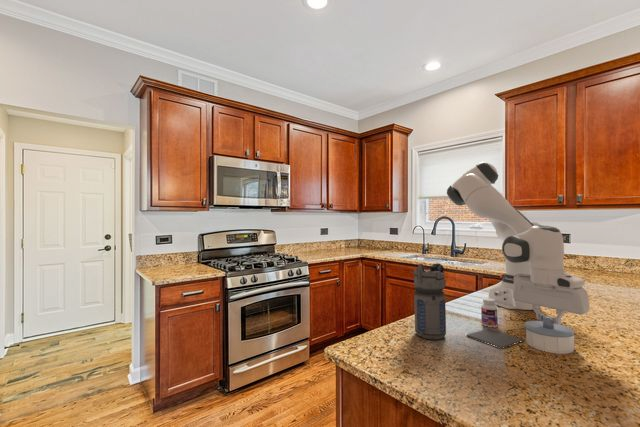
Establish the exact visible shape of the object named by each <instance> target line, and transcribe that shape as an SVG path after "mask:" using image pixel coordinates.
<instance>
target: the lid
mask: <svg viewBox="0 0 640 427" xmlns="http://www.w3.org/2000/svg"><path fill="white" fill-rule="evenodd" d="M523 326H524V328H525V330H526V329H527V330H529V331H531V332H534V333H537V334H541V335H545V336H551V337H571V336H574V337H575V330H574V329H573V328H572V327H569V326H567V325H564V324H562V323H561V324H555V323H553V316H548V315H544V316H543V320H529V321H525V322H524V325H523Z"/></svg>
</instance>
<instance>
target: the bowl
mask: <svg viewBox="0 0 640 427" xmlns="http://www.w3.org/2000/svg"><path fill="white" fill-rule="evenodd" d="M525 339H526V340H525V342H527V343H526V344H527V345H528V344H529V345H530V346H529V345H528V346H529V347H531V348H532V349H535V350H538V351H541V350H542V351H541V352H544V351H545V352H546V353H549V354H555V355H569V354H572V353H574V351H575V335H574V336H571V337H551V336H545V335H541V334H537V333H534V332H531V331H529V330H527V329H526V328H525ZM545 352H544V353H545Z"/></svg>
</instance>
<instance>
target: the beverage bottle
mask: <svg viewBox="0 0 640 427" xmlns="http://www.w3.org/2000/svg"><path fill="white" fill-rule="evenodd" d="M426 267H427V269H424V264H421V263H418V266H417V268H414V271H413V287H415V290H414V292H413V293H414V294H413V295H414V296H413V297H414V298H413V300H414V302H413V303H414V307H413V308H414V332H415V333H416V335H417V336H419V337H421V338H422V339H426V340H432V341H433V340H434V341H435V340H441V339H444V338H445V337H446V334H447V320H446V319H447V318H446V317H447V316H446V315H447V314H446V313H447V312H446V307H447V306H446V293H445V292H444V289H445V288H446V285H447V284H446V283H447V282H446V278H445V274H444V266H443V265H442V264H441V263H437V262H436V263H433V264H432V265H428V266H426Z"/></svg>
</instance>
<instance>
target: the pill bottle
mask: <svg viewBox="0 0 640 427" xmlns="http://www.w3.org/2000/svg"><path fill="white" fill-rule="evenodd" d="M480 306H481V307H480V309H481V313H480V314H481V325H482V326H483V325H484V326H483V327H486V326H488V327H487V328H492V327H494V328H497V327H498V326H499V320H498V319H499V315H498V314H499V313H498V305H495V300H494V299H491V298H485V297H483V300H482V304H481V305H480Z"/></svg>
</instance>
